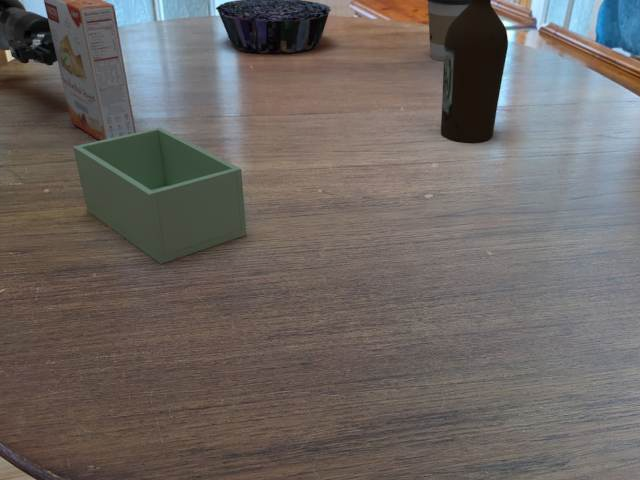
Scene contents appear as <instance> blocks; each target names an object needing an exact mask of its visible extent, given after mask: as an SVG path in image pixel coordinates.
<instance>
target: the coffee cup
mask: <svg viewBox="0 0 640 480" xmlns="http://www.w3.org/2000/svg"><path fill="white" fill-rule="evenodd" d="M426 1H427V11H428V35H429V36H428V37H429V53H430V57H431V59H433V60H435V61H436V60H437V61H442V62H444V43H445V37H446V34H447V31H448V28H449V26H450V25H451V23H452V22H453V21H454V20H455V19H456V18H457V17H458V16H459V15H460V14H461V12H462V11H463V10H464V9H465V8H466V7H467V6H468V5H469V4H470V1H471V0H426Z"/></svg>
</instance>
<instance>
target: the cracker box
mask: <svg viewBox="0 0 640 480" xmlns="http://www.w3.org/2000/svg"><path fill="white" fill-rule="evenodd" d="M43 4H44V7H45V8H44V9H45V13H46V16H47V17H46V18H48V22H49V26H50V30H51V34H52V39H53V43H54V48H55V52H56V57H57V61H56V62H57V66H58V70H59V75H60V79H61V82H62V88H63V91H64V96H65V101H66V105H67V109H68V113H69V119H70V121H71V123H72V124H73V125H75V126H76V127H78V128H80V129H81V130H83V131H84V132H85V133H87V134H88V135H90V136H91V137H93V138H94V139H96V140H97V141H101V140H105V139H110V138H114V137H119V136H123V135H128V134H132V133H137V131H136V125H135V119H134V113H133V108H132V101H131V96H130V91H129V85H128V80H127V79H128V77H127V73H126V67H125V61H124V57H123V50H122V45H121V38H120V32H119V26H118V21H117V15H116V9H115V5H114V4H113V3H110V2H108V1H105V0H43Z"/></svg>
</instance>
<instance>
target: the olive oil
mask: <svg viewBox="0 0 640 480" xmlns="http://www.w3.org/2000/svg"><path fill="white" fill-rule="evenodd" d="M508 48H509V37H508V31H507V29H506V26H505V24H504V23H503V21H502V20H501V18H500V17H499V15H498V14H497V13H496V11H495V9H494V7H493V6H492V0H471V1H470V4H469V5H468V6H467V7H466V8H465V9H464V10H463V11H462V12H461V14H460V15H459V16H458V17H457V18H456V19H455V20H454V21H453V22H452V23H451V25H450V26H449V28H448V31H447V34H446V37H445V43H444V61H443V70H442V72H443V73H442V95H441V97H442V99H441V119H440V121H441V122H440V134H441V135H442V136H443V137H444V138H447V139H449V140H452V141H455V142H461V143H483V142H486V141H489V140H490V139H492V137H493V135H494V130H495V123H496V117H497V110H498V104H499V98H500V92H501V87H502V82H503V77H504V76H503V75H504V70H505V65H506V59H507V55H508V54H507V53H508Z"/></svg>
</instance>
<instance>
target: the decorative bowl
mask: <svg viewBox="0 0 640 480" xmlns="http://www.w3.org/2000/svg"><path fill="white" fill-rule="evenodd" d="M215 9H216V10H217V13H218V15H219V17H220V19H221V22H222V24H223V27H224V29H225V32H226V34H227V36H228V39H229V41H230V43H231V44H232V45H233V46H234V47H235V48H236V49H237V50H239V51H242V52H247V53H251V54H255V53H256V54H257V53H260V54H276V53H277V54H278V53H282V54H294V53H301V52H307V51H311V49H316V48H317V47H318V46H319V45H320V44H321V40H322V37H323V35H324V31H325V27H326V23H327V21H328V18H329V15H330V13H331V11H332V9H331V7H330V6H329V5H327V4H324V3H320V2H317V1H310V0H308V1H307V0H232V1H226V2H224V3H220V4H219V5H218V6H216V7H215Z"/></svg>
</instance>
